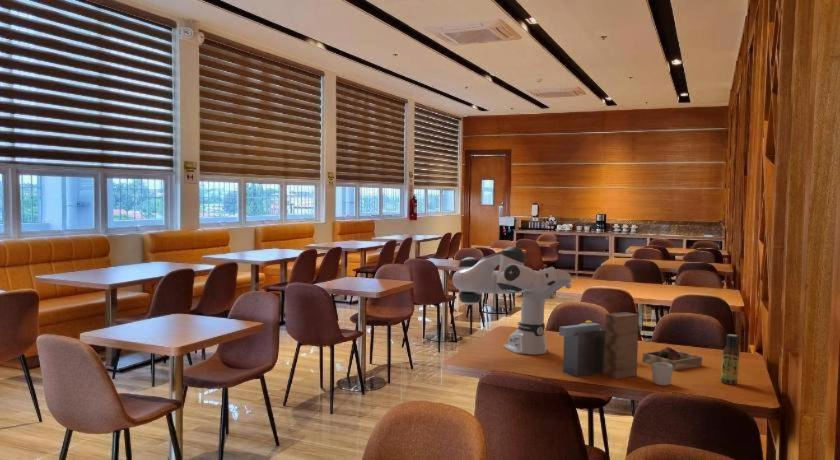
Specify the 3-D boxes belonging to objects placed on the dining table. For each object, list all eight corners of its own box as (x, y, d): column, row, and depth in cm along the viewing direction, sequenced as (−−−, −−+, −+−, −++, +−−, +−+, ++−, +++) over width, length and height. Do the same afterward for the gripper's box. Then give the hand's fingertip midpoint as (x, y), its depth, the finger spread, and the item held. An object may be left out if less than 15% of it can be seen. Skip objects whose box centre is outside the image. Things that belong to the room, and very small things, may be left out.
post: (603, 375, 272) (605, 314, 270) (623, 371, 278) (625, 312, 276) (616, 379, 266) (618, 316, 264) (636, 375, 272) (638, 314, 270)
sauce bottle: (719, 383, 262) (721, 335, 261) (721, 380, 267) (723, 332, 266) (737, 386, 259) (739, 337, 258) (738, 382, 264) (740, 334, 263)
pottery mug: (658, 359, 303) (668, 345, 301) (675, 372, 297) (685, 357, 295) (649, 357, 293) (660, 343, 292) (667, 370, 287) (677, 355, 286)
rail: (559, 335, 270) (559, 326, 269) (594, 330, 280) (594, 322, 279) (564, 336, 267) (565, 328, 266) (599, 332, 277) (600, 324, 276)
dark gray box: (563, 372, 275) (564, 329, 274) (592, 367, 284) (594, 326, 283) (577, 377, 268) (578, 333, 267) (607, 372, 277) (608, 329, 276)
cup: (644, 379, 266) (645, 360, 266) (663, 379, 267) (664, 360, 267) (656, 387, 256) (657, 367, 255) (675, 386, 256) (676, 367, 256)
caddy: (642, 361, 296) (642, 353, 296) (670, 357, 305) (670, 349, 305) (673, 370, 281) (673, 361, 281) (701, 365, 291) (702, 356, 290)
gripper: (522, 301, 266) (544, 309, 273) (558, 277, 254) (581, 286, 261) (519, 288, 270) (541, 296, 277) (554, 264, 258) (577, 273, 265)
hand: (561, 291), depth 269 cm, fingers open, 8 cm apart
